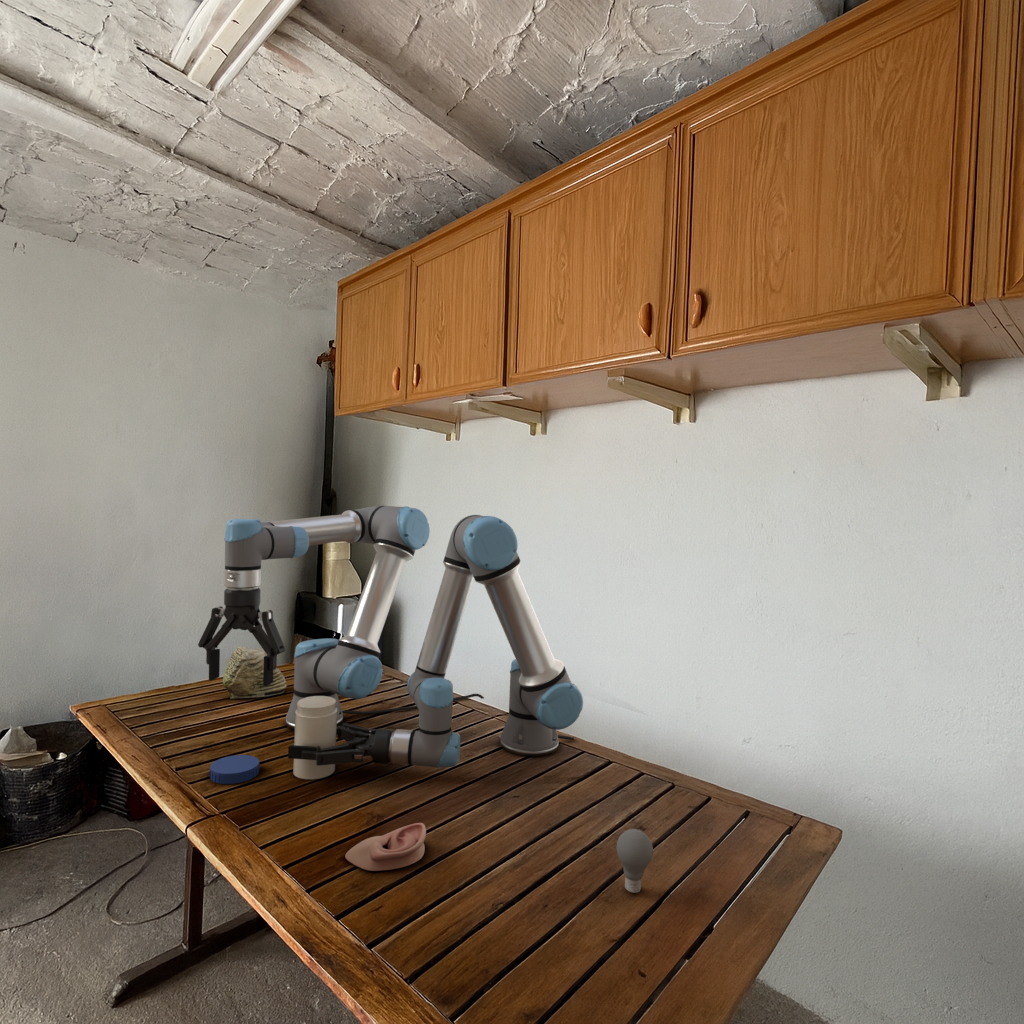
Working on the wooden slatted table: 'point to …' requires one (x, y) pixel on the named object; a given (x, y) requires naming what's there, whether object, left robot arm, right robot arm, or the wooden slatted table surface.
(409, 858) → the anatomical model
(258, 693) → the fossil
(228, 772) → the lid
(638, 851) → the light bulb
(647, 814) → the wooden slatted table surface
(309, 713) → the jar
